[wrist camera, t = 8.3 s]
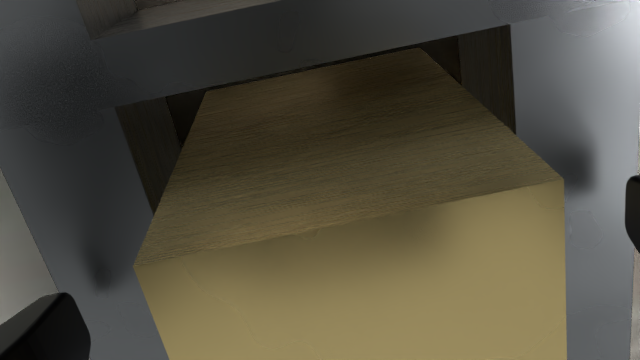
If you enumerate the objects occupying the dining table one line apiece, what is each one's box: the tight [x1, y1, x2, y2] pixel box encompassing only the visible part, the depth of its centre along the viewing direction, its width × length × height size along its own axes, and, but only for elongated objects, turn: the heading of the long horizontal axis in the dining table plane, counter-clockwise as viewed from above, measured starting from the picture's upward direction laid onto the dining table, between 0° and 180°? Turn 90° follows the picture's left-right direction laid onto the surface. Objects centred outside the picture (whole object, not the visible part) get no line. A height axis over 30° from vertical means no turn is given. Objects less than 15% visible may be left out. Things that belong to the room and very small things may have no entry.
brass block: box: [133, 47, 567, 360], centre depth 10 cm, size 4×4×6 cm
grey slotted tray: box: [0, 0, 640, 360], centre depth 11 cm, size 10×24×3 cm, turn 11°
